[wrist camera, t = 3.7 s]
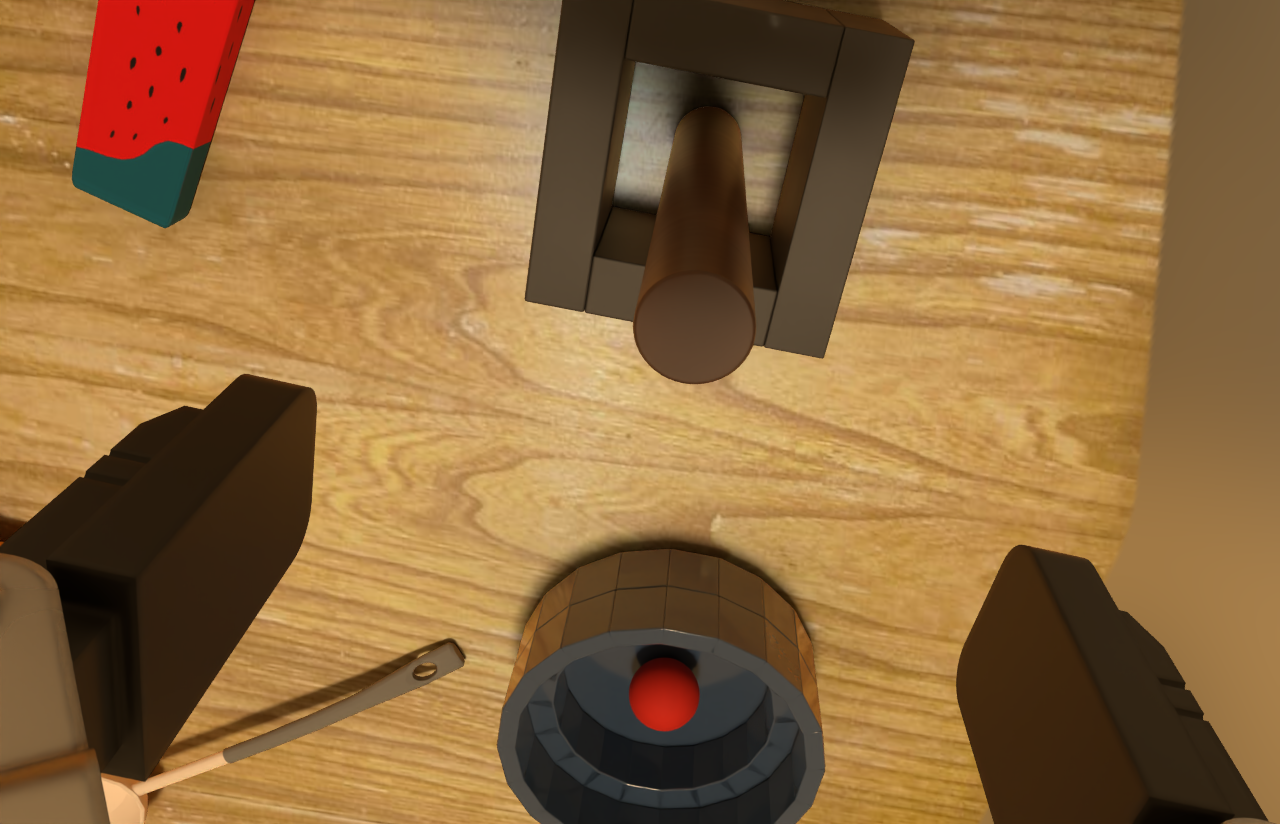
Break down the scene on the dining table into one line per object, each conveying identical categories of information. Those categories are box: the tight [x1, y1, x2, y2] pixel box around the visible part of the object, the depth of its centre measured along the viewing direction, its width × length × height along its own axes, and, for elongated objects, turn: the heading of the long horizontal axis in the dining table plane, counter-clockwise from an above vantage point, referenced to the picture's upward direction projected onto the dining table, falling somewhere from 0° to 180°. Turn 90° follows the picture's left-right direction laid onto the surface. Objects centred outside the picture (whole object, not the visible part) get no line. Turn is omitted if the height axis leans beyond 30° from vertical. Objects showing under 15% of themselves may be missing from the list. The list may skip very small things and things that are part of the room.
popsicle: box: [72, 0, 254, 228], centre depth 34 cm, size 5×2×15 cm
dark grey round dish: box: [497, 549, 825, 824], centre depth 43 cm, size 14×14×6 cm
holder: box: [525, 0, 915, 358], centre depth 32 cm, size 10×10×6 cm
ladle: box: [101, 642, 465, 824], centre depth 50 cm, size 6×28×5 cm, turn 117°
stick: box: [633, 106, 756, 384], centre depth 27 cm, size 2×2×18 cm
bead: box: [629, 658, 700, 731], centre depth 44 cm, size 3×3×3 cm
